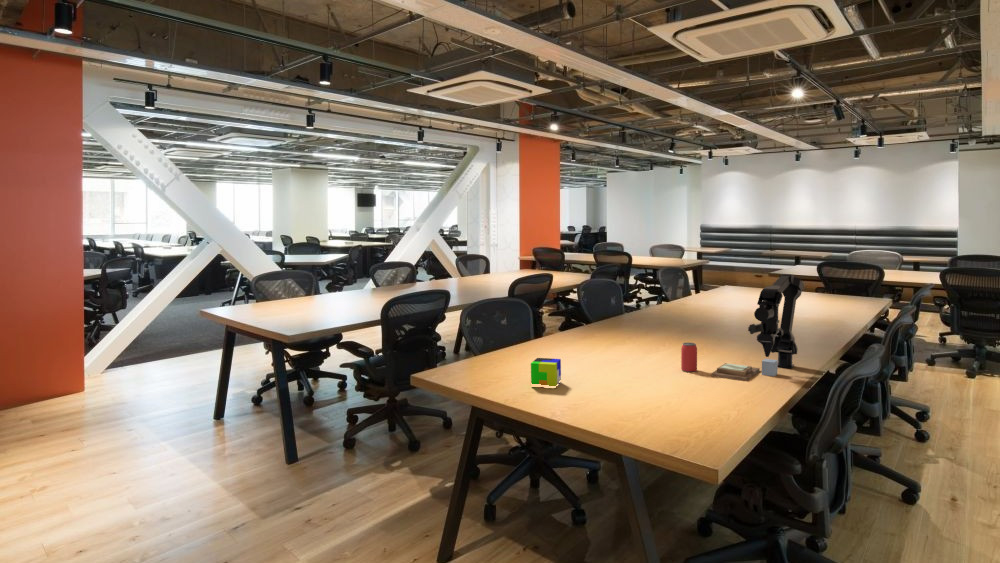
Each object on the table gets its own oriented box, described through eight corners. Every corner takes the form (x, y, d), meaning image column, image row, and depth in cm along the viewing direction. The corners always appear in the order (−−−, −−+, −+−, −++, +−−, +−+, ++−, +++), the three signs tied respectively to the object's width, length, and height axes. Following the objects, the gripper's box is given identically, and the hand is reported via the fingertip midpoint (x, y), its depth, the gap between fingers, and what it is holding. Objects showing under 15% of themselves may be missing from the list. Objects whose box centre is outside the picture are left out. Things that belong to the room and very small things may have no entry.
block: (764, 372, 244) (765, 358, 244) (777, 374, 241) (777, 360, 241) (761, 375, 240) (761, 361, 240) (774, 376, 237) (774, 362, 237)
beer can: (698, 372, 246) (698, 345, 245) (682, 372, 248) (682, 345, 247) (695, 368, 253) (696, 342, 252) (680, 368, 254) (680, 342, 253)
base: (726, 366, 256) (726, 359, 255) (759, 370, 247) (759, 363, 247) (711, 376, 240) (711, 368, 240) (746, 380, 232) (746, 373, 231)
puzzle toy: (561, 382, 236) (560, 359, 235) (555, 389, 227) (555, 364, 226) (537, 381, 239) (537, 357, 238) (531, 387, 230) (530, 363, 229)
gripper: (756, 313, 251) (755, 348, 252) (744, 319, 236) (743, 356, 238) (784, 315, 244) (783, 351, 245) (772, 321, 229) (772, 360, 231)
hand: (770, 354), depth 240 cm, fingers open, 9 cm apart
